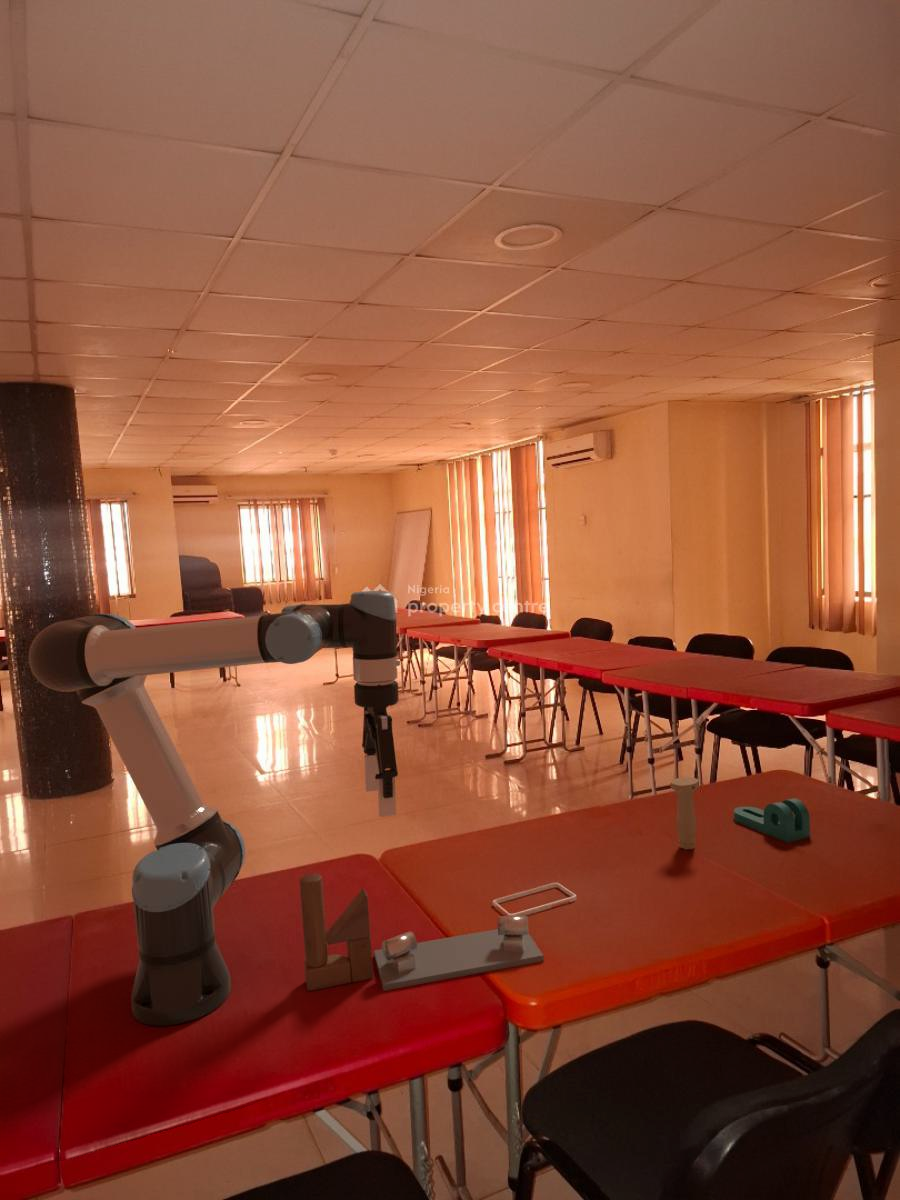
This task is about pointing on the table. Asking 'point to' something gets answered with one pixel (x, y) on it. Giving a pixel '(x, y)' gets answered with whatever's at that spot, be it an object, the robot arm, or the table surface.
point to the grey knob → (513, 932)
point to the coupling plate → (457, 959)
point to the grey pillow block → (400, 952)
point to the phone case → (531, 891)
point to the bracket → (777, 819)
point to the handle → (685, 810)
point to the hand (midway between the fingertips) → (380, 802)
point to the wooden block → (334, 938)
